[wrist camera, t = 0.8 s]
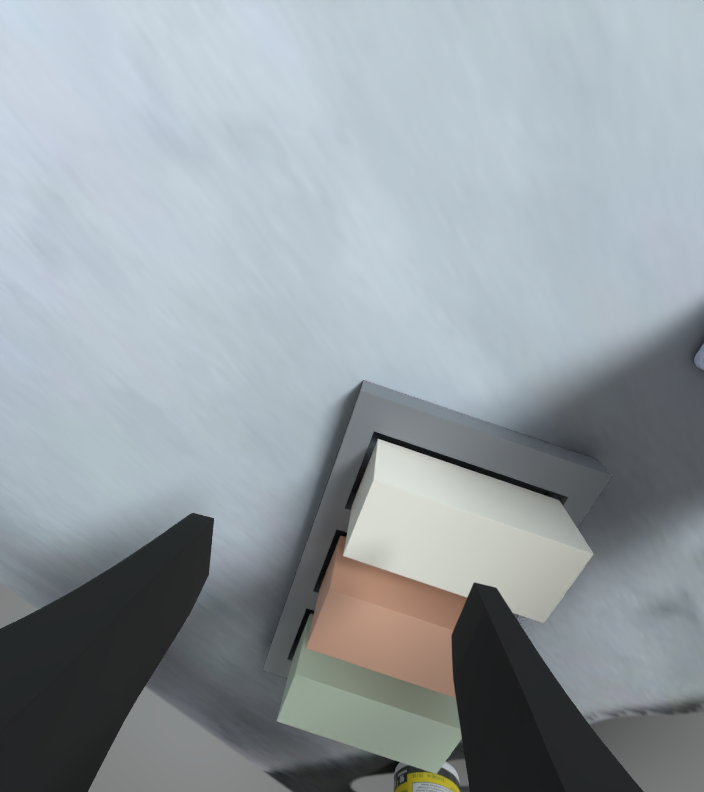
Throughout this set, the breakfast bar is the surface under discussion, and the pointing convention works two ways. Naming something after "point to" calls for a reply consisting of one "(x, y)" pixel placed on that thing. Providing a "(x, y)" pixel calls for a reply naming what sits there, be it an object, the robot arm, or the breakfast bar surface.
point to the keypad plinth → (439, 432)
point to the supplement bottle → (425, 779)
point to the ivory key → (464, 531)
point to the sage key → (369, 709)
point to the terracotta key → (386, 623)
